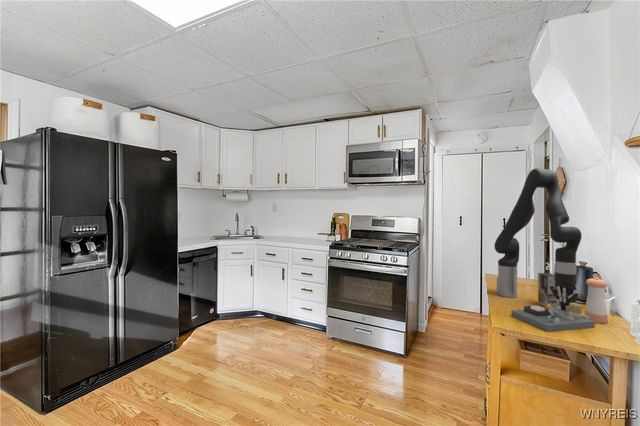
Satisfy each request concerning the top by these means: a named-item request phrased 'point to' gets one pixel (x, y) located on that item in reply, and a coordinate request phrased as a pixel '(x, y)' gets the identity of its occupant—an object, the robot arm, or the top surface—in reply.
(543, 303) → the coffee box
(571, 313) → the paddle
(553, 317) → the toggle lever
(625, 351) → the top surface
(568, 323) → the control panel
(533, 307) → the push button
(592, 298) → the pepper shaker
